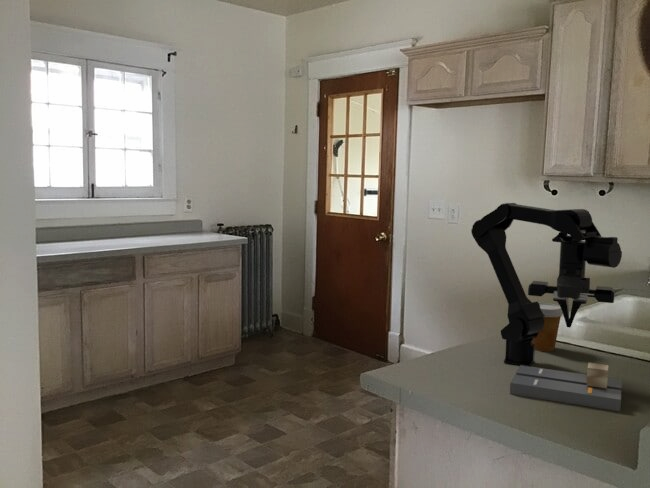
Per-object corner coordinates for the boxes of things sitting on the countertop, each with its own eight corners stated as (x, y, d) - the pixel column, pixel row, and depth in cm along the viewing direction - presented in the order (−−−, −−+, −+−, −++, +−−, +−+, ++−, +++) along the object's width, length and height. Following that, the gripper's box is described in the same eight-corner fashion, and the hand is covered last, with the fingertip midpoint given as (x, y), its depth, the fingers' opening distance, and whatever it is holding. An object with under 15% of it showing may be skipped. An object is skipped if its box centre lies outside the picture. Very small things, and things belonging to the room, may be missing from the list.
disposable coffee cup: (560, 345, 174) (562, 304, 173) (561, 354, 165) (563, 311, 164) (524, 342, 177) (526, 301, 176) (524, 351, 168) (526, 308, 167)
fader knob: (585, 393, 133) (587, 367, 133) (587, 387, 137) (588, 362, 136) (606, 396, 131) (607, 370, 131) (606, 390, 135) (608, 365, 134)
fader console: (509, 393, 135) (510, 382, 135) (519, 375, 148) (520, 364, 148) (620, 411, 126) (621, 399, 126) (620, 390, 138) (621, 379, 138)
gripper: (526, 263, 142) (523, 329, 144) (615, 270, 134) (610, 340, 135) (533, 258, 152) (529, 319, 153) (616, 263, 143) (612, 328, 145)
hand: (568, 327), depth 147 cm, fingers closed
